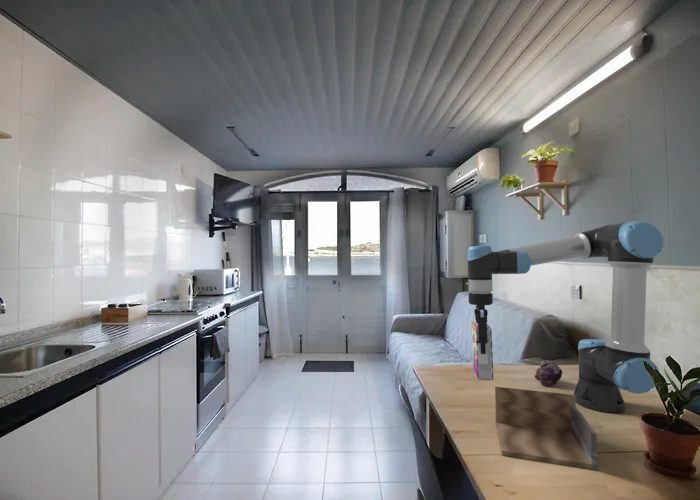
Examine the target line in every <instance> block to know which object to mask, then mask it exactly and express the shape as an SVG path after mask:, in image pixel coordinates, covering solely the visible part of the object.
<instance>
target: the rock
mask: <svg viewBox="0 0 700 500" xmlns="http://www.w3.org/2000/svg"><path fill="white" fill-rule="evenodd" d="M535 372H536V373H535V375H534V376H533V377H534V378H535V379H536V380H538V381H540V385H542V386H544V387H552V386H553V385H557V383H558V381H560V379H562V375H563V371H562V369H561V368H560V367H559V365H558V364H557V363H555V362H554V361H552V360H549V359H545V360H542V361H541V363H540V365H539V367H538V368H537V369H536V371H535Z"/></svg>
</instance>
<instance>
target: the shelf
mask: <svg viewBox="0 0 700 500" xmlns="http://www.w3.org/2000/svg"><path fill="white" fill-rule="evenodd" d="M494 390H495V391H494V393H495V394H494V395H495V396H494V397H495V398H494V399H495V405H494V406H495V412H494V413H495V414H494V415H495V428H496V434H497V439H498V443H499V447H500V453H501V456H503V457H504V456H506V457H512V458H519V459H525V460H530V461H537V462H543V463H550V464H554V465H555V464H556V465H562V466H569V467H575V468H581V469H588V470H594V471H597V470H598V444H597V440H598V439H597V438H598V437H597V434H598V433H597V432H596V431H595V430H594V428H593V427H592V426H591V424H590V423H589V422H588V421H587V419H586V418H585V417H584V415H583V414H582V412H581V411H580V410H579V409H578V407H577V406H576V404H577V403H576V396H575V395H574V394H570V393H560V392H551V391H550V392H549V391H541V390H532V389H531V390H530V389H522V388H513V387H502V386H494Z"/></svg>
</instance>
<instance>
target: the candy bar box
mask: <svg viewBox="0 0 700 500" xmlns="http://www.w3.org/2000/svg"><path fill="white" fill-rule="evenodd" d="M492 334H493V333H492V328H491V327H490V326H489V324H488V323H487V340H488V342H487V349H488V364H479V358H478V343H476V340H477V341H478V340H479V338H478V324H477V323H476V321H471V339H472V340H471V342H472V345H471V346H472V367H473V371H474V373H475V376H476V377H477V379H478V380H481V381H483V380H484V381H494V361H493V357H494V355H493V337H492ZM481 339H485V338H481Z"/></svg>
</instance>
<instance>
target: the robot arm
mask: <svg viewBox="0 0 700 500" xmlns="http://www.w3.org/2000/svg"><path fill="white" fill-rule="evenodd" d="M664 245H665V241H664V236H663V234H662V232H661V230H660V229H659V228H657V227H656V225H654V224H652V223H651V222H647V221H642V220H641V221H637V220H635V221H634V220H633V221H626V222H621V223H620V222H618V223H614V224H606V225H602V226H599V227H596V228H593V229H589V230H586V231H581V232H577V233H575V234H574V236H569V237H564V238H559V239H555V240H550V241H545V242H539V243H535V244H528V245H524V246H518V247H513V248H508V249H504V250H498V251H493V250H492V247H491V246H490V245H474V246H473V245H472V246H469V247H468V248H467V259H466V261H467V274H468V275H467V277H468V278H467V279H468V280H467V282H466V283H465V284H466V285H467V286H468V292H469V293H468V304H470V305H473V306H475V308H474V317H475V322H476V323H477V324H478V338H479V340H478V341H477V340H476V343H478V358H479V364H488V349H487V342H488V340H487V324H488V314H489V313H488V312H489V311H488V309H487V308H486V306H491V305H493V303H494V300H493V296H494V295H493V293H492V292H493V291H494V290H493V287H494V286H493V275H521V274H522V275H523V274H524V275H525V274H527V273H528V272H529V271H530V269H531V266H536V265H543V264H548V263H553V262H558V261H564V260H568V259H569V260H570V259H574V258H576V259H577V258H580V259H582V260H585V259H589V258H607V264H608V265H610V266H611V267H612V289H611V290H612V291H611V292H612V293H611V315H610V316H611V318H610V339H607V340H606V339H596V338H595V339H594V338H591V339H588V338H587V339H585V338H584V339H581V340H580V341H579V342H578V347H577V351H578V381H577V384H576V387H575V389H574V391H573V395H575V396H576V404H578V405H580V406H582V407H584V408H587V409H590V410H594V411H596V412H603V413H611V414H612V413H614V414H615V413H617V414H618V413H622V412H624V411H625V410H626V402H625V400H624V397H623V394H622V392H621V390H623V391H627V392H628V393H632V394H636V395H639V394H641V395H642V394H645V393H648V392H650V391H651V390H652V389H654V388H655V387H656V386H655V385H654V383H653V381H652V379H651V377H650V375H649V374H648V372H647V371H646V369H645V367H644V364H643V361H645V362H646V363H647V364H649V365H650V366H651V367H652V368H654V369H656V370H658V371H659V372H660V370H659V368H658V366H657V365H656V363H654V361H652V360H651V350H650V349H649V348H648V347H647V346H646V345H645V331H646V330H645V329H646V328H645V327H646V304H647V303H646V302H647V301H646V300H647V299H646V298H647V270H648V269H649V268H650V267H652V266H653V265H654V257H656V256H657V255H659V253H661V251H662V250H663V248H664ZM481 338H485V339H481Z"/></svg>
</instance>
